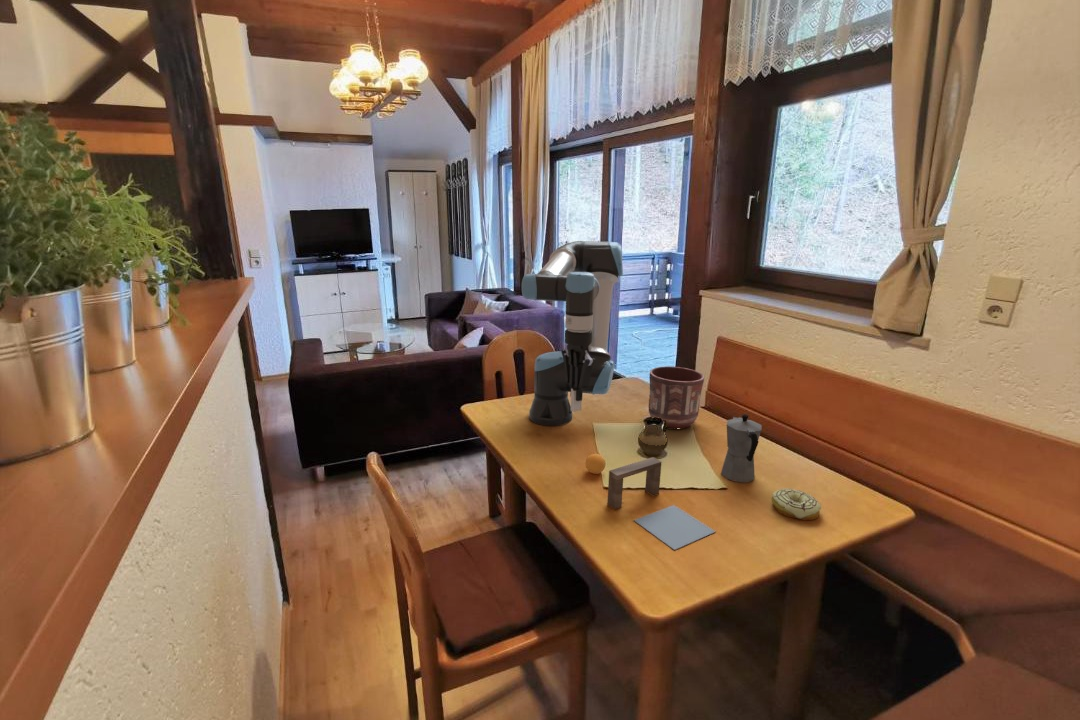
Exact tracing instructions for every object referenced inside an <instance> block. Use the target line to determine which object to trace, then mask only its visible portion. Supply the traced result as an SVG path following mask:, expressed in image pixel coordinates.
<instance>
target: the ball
mask: <svg viewBox="0 0 1080 720" xmlns="http://www.w3.org/2000/svg"><path fill="white" fill-rule="evenodd" d="M606 464H607V463H606V459H605V458H604V457H603V456H602V455H601V454H599V453H592V454H590V455H588V456H587V457H586V459H585V468H586V469H587V471H588V472H589V473H591V474H593V475H597V474H600V473H602V472H604V470H605V468H606Z"/></svg>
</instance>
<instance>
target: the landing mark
mask: <svg viewBox="0 0 1080 720" xmlns="http://www.w3.org/2000/svg"><path fill="white" fill-rule="evenodd" d="M633 522H635V523H636V524H638V525H639V526H640V527H642V528H643V529H644V530H646V531H648V533H650V534H651V535H653V536H654V537H655V538H657V539H658V540H659V541H661V542H662V543H663V544H665V545H666V546H668V547H669V548H671V549H672V550H673V551H677V550H679V549H681V548H683V547H685V546H688V545H691V544H692V543H694V542H697V541H699V540H702V539H703V538H705V537H709V536H710V535H713V534H715V533H716V532H717V531H715V530H714V529H713V528H711V527H709V526H708V525H706V524H705V523H703V522H701V521H700V520H698V519H696V518H695V517H693V516H692V515H690V514H689V513H687V512H686V511H685V510H682V508H680V507H677V506H676V505H675V504H672V505H670V506H666V507H664V508H662V509H660V510H657V511H655V512H651V513H649V514H647V515H644V516H641V517H638V518H636V519H634V520H633Z"/></svg>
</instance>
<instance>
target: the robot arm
mask: <svg viewBox="0 0 1080 720" xmlns="http://www.w3.org/2000/svg"><path fill="white" fill-rule="evenodd" d="M623 267H624V266H623V254H622V245H621V244H620V243H619V242H616V241H615V242H614V241H609V240H607V241H592V240H591V241H587V240H586V241H585V240H577V241H572V242H567V243H565V244H562V245H560V246H559V247H557V248H556V249H555V250H554V251H553V252H552V253H551V254H550V255H549V259H548V261H547V263H545V264H544V266H543V267H542V268H541V269H540V270H539V271H538V272H537V273H528V274H527V273H526V274H524V275H523V277H522V279H521V295H522V297H523V298H524V299H525V300H532V301H546V302H551V301H552V302H564V303H565V320H564V321H565V322H564V324H565V326H564V328H565V331H564V344H566V348H565V349H562V350H559V351H558V350H557V351H549V352H545V353H541V354H539V355H538V356H537V357H536V358H535V360H534V370H533V371H534V387H533V388H534V389H533V390H534V396H533V399H532V403H531V406H530V409H529V412H528V418H529V420H530V421H531V422H532V423H534V424H537V425H541V426H548V427H555V426H562V425H567V424H569V423H570V422H571V421H572V420H573V413H575V412H579V411H582V401H583V394H589V395H606V394H607V393H609V391H610V388H611V384H612V381H613V376H614V370H615V361H614V360H613V359H611V357H612V355H611V354H610V352H608V344H609V343H608V341H609V331H610V322H611V310H612V309H611V308H612V299H613V298H612V297H613V287H614V285H615V284H616V283H617V282H618V281H619V277H621V276H623V274H624V273H623V271H624V269H623ZM569 393H570V395H569ZM569 396H570V400H569Z"/></svg>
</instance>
